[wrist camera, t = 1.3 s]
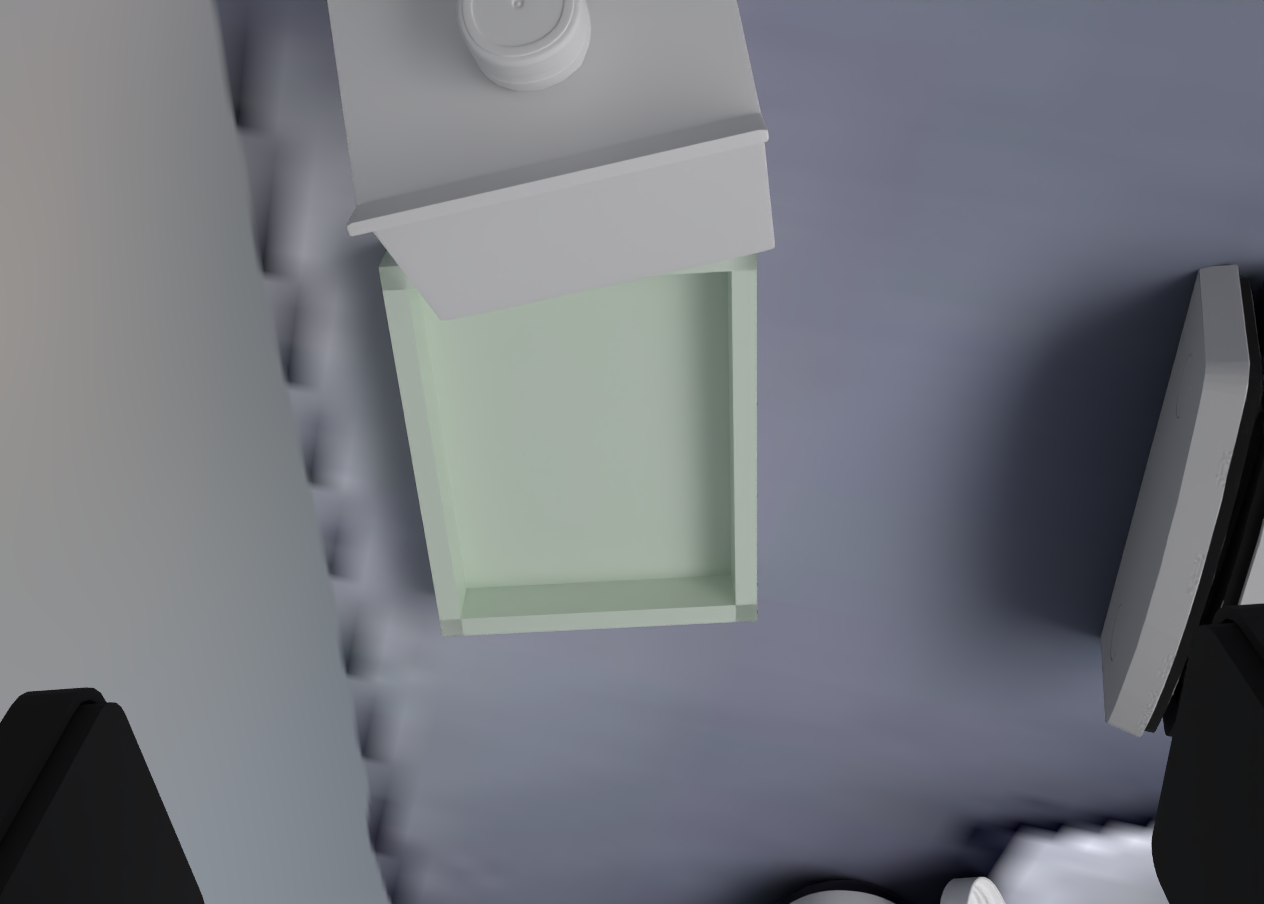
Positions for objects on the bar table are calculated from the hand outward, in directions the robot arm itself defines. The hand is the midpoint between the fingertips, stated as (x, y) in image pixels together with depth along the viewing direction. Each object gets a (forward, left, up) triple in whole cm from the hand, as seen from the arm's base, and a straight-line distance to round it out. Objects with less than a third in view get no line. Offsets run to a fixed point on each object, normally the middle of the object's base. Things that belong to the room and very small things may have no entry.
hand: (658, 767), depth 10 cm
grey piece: (+16, +20, -31) cm, 40 cm away
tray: (+13, -2, -30) cm, 33 cm away
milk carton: (-2, -1, -30) cm, 30 cm away
